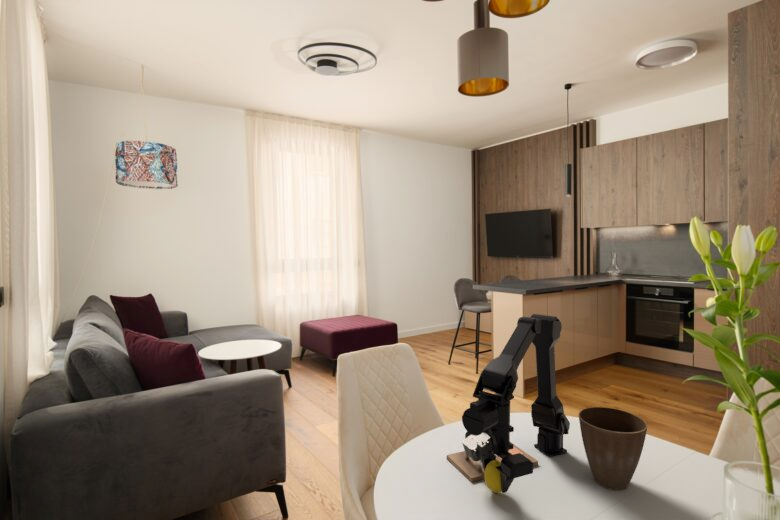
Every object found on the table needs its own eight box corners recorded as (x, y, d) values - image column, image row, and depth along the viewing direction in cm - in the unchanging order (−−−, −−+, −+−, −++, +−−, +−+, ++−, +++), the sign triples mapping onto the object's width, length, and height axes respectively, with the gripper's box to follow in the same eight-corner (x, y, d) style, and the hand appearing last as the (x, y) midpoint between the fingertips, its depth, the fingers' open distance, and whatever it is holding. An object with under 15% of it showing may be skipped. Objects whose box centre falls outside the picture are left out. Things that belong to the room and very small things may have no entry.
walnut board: (509, 444, 123) (509, 441, 123) (538, 464, 112) (538, 461, 112) (446, 458, 115) (446, 455, 115) (471, 482, 104) (471, 478, 104)
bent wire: (486, 452, 116) (486, 436, 116) (503, 466, 109) (504, 448, 109) (463, 458, 113) (463, 441, 113) (479, 472, 106) (479, 454, 106)
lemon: (509, 501, 96) (509, 467, 96) (484, 498, 97) (484, 464, 97) (507, 487, 102) (507, 455, 101) (483, 484, 103) (484, 453, 102)
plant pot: (619, 507, 94) (621, 438, 93) (564, 474, 107) (565, 413, 107) (658, 489, 101) (660, 424, 100) (602, 460, 114) (604, 402, 113)
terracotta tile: (506, 442, 122) (506, 441, 122) (523, 454, 115) (523, 453, 115) (484, 447, 119) (484, 446, 119) (501, 460, 112) (501, 459, 112)
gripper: (447, 411, 104) (446, 472, 105) (493, 445, 87) (492, 518, 88) (484, 404, 108) (483, 463, 109) (535, 435, 91) (534, 505, 92)
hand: (496, 485), depth 99 cm, fingers closed on lemon, 5 cm apart
